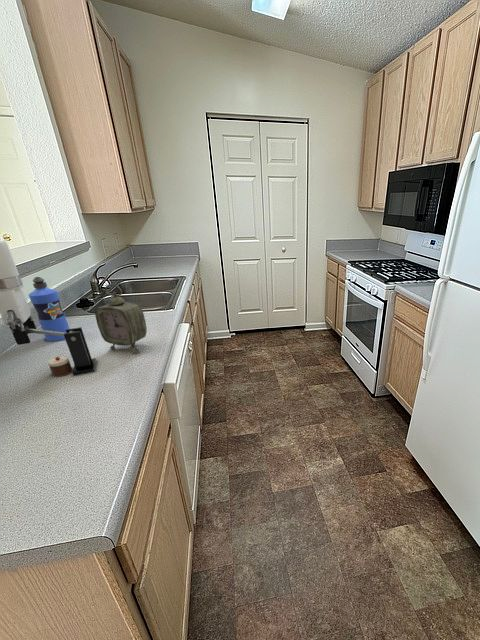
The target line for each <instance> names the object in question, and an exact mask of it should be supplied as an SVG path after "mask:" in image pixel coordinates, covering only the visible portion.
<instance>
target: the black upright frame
mask: <svg viewBox="0 0 480 640" xmlns="http://www.w3.org/2000/svg"><path fill="white" fill-rule="evenodd" d="M70 331H77V332H70ZM69 332H70V333H69ZM64 337H65V339H64V340H65V342H66V345H67V347H68V350H69V353H70V356H71V359H72V361H73V364H74V367H73V369H72V375H73V376H79V375H80V376H81V375H84V374H91V373H94V372H96V371H95V370H96V365H97V358H96V357H95V358H93V357H92V355H91V351H90V349H89V345H88V343H87V340H86V337H85V334H84V332H83V328H82V326H80V327H79V326H78V327H74V328H73V327H72V328H70V329H66V333H64Z"/></svg>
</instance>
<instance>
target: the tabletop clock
mask: <svg viewBox="0 0 480 640" xmlns="http://www.w3.org/2000/svg"><path fill="white" fill-rule="evenodd" d="M109 287H115V288H117V289H119V291H120V292H119V293H118V294H117V292H115V291H113V292H112V293H110V292H109V291H108V288H109ZM105 292H106V294H107V295H110V296H112V297H110V299H109V301H108V303H107V304H105V305H101V306H99V307H96V308H95V309H94V314H95V315H94V316H95V321H96V324H97V328H98V330H99V333H100V336H101V337H102V339H103V341H104V342H106V343H107V344H112V345H110V347H109V349H110V350H111V351H114V350H115V349H116V345H117V346H131V347H132V348H133V352H134V354H137V353H139V349H138V348H137V345H136V343H137V342H138V341H140V340H142V339H144V338H146V336H147V332H148V328H147V322H146V319H145V315H144V314H145V313H144V311H143V308H142V306H141V305H139V304H136V303H134V302H129V301H125V299H124V298H123V297H121V295H122V294H123V289H122V288H121V287H120V286H119V285H117V284H112V283H109V284H107V285H106V286H105Z"/></svg>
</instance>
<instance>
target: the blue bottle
mask: <svg viewBox="0 0 480 640" xmlns="http://www.w3.org/2000/svg"><path fill="white" fill-rule="evenodd" d="M32 285H33V288H34V290H33V291H31V292H30V293H28V297H29V300H30V303H31V304H32V306H33V308H34V309H35V311H36V313H37V318H38V322H39V324H40V328H41V330H47V331H55V332H63V333H66V329H71V328H70V326H69V323H68V320H67V317H66V315H65V313H64V311H63V309H62V306H61V301H60V295H59V292H58V290H57V289H54V288H49V287H48V284H47V282H46V281H45V279H44V278H43V277H41V276H36V277H34V278H33V279H32ZM43 335H44V337H45V340H46V341H48V342H57V341H64V340H66V339H65V337H64V336H55V335H47V334H43Z"/></svg>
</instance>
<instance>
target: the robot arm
mask: <svg viewBox="0 0 480 640" xmlns="http://www.w3.org/2000/svg"><path fill="white" fill-rule="evenodd" d="M22 288H24V284H23V280H22V278H21V276H20V273H19V270H18V267H17V265H16V263H15V260H14V258H13V255H12V252H11V249H10V248H9V244H8V242H7V241H6V240H5V239H4V238H2V237H0V317H1V320H2V322H3V324H4V325H6V326H9V329H10V332H11V334H12V335H13V338H14V340H15V342H16V345H17V346H20V345H28V344H30V343H31V339H30V337H29V335H30V334H31V333H29V332H26V330H24V325H27V326H28V327H29V328H30V329H37V326H36V324H35V321H34V318H33V316H32V311H31V308H30V306H29V303H28V300H27V298H26V295H25V293H24V292H23V289H22Z"/></svg>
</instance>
